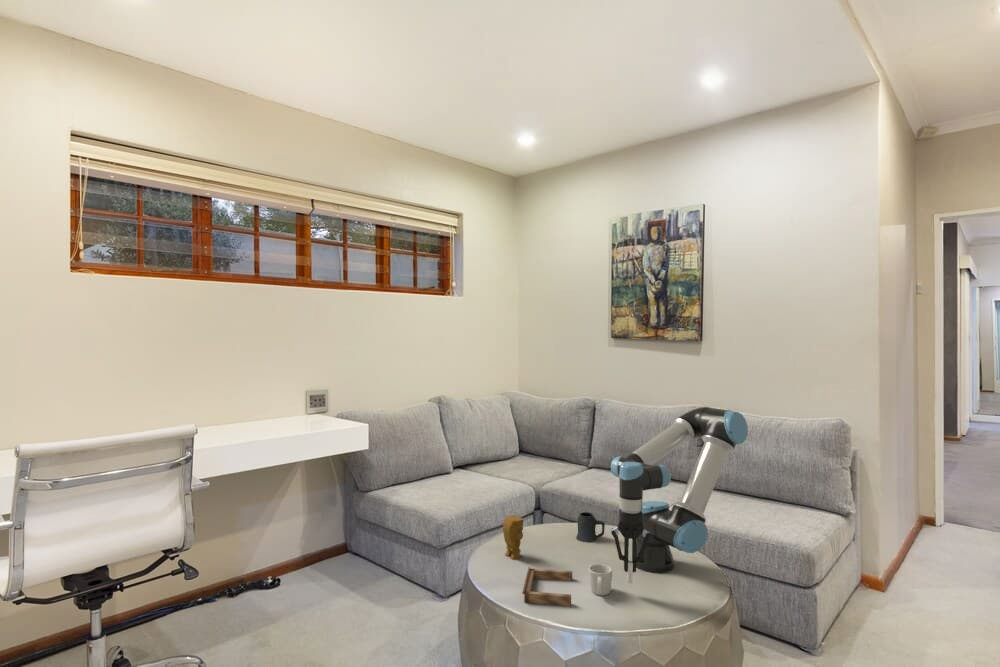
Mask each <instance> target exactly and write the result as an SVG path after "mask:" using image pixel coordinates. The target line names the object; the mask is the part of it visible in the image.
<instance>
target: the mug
mask: <svg viewBox="0 0 1000 667" xmlns="http://www.w3.org/2000/svg"><path fill="white" fill-rule="evenodd" d="M597 525H601V532H600V533H599V534H596V526H597ZM605 529H606V528H605V521H604V520H603V521H602V520H597V518H595V516H594V514H593V512H589V511H583V512H580V513H579V516H578V517H577V533H576V536H575V538H576V540H577V541H578V542H582V543H594V542H596V541H597V540H598V539H597V538H602V537H603V536H604V534H605Z"/></svg>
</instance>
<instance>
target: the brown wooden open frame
mask: <svg viewBox="0 0 1000 667" xmlns="http://www.w3.org/2000/svg"><path fill="white" fill-rule="evenodd" d="M526 572H527V573H526V577H525V581H524V585H523V588H522V595H524V598H523V599H524V601H523V602H524V603H527V604H540V605H553V606H563V605H564V606H565V607H571V606H572V594H568V593H557V592H541V591H540V592H539V591H532V590H533V586H534V580H551V581H570V582H571V581H573V570H559V569H542V568H531V566H528V568H527V571H526Z"/></svg>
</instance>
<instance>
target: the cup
mask: <svg viewBox="0 0 1000 667" xmlns="http://www.w3.org/2000/svg"><path fill="white" fill-rule="evenodd" d="M588 578H589V587H590V591H591V593H593V594H594V595H597V596H607V595H609V594H610V593H611V590H612V581H613V580H612V579H613V569H612V567H611V566H610V565H607V564H602V563H594V564H590V566H589V567H588Z"/></svg>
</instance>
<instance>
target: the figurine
mask: <svg viewBox="0 0 1000 667" xmlns="http://www.w3.org/2000/svg"><path fill="white" fill-rule="evenodd" d="M523 530H524V518H521V517H519V516H518V515H515V514H514V515H508V516H507V517H505V519H504V521H503V525H502V533H503V534H502V535H503V537H504V538H503V539H504V541H505V542H504V543H506V544H505V545H506V546H505V547H506V552H505V553H504V556H506V557H509V559H511V560H512V561H513V560H517V559H521V558H522V557H523V555H521V548H520V546H521V540H522V539H523V537H524V533H523Z"/></svg>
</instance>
